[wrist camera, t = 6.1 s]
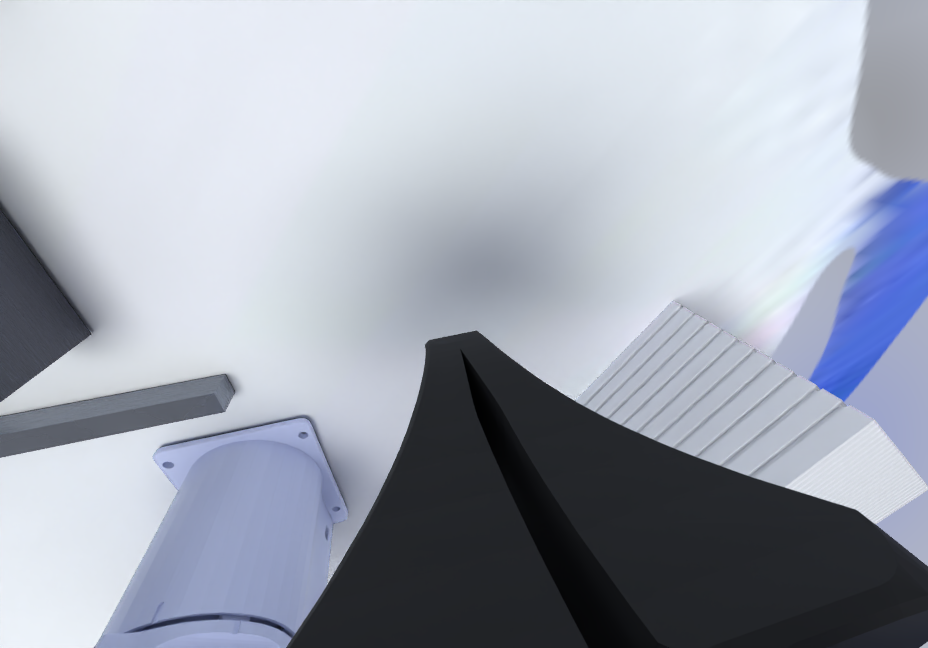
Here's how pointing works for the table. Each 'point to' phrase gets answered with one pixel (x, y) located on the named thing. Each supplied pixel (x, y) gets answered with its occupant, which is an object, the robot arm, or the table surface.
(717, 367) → the white ridged block
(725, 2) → the table surface
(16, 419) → the vise
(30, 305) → the vise jaw
